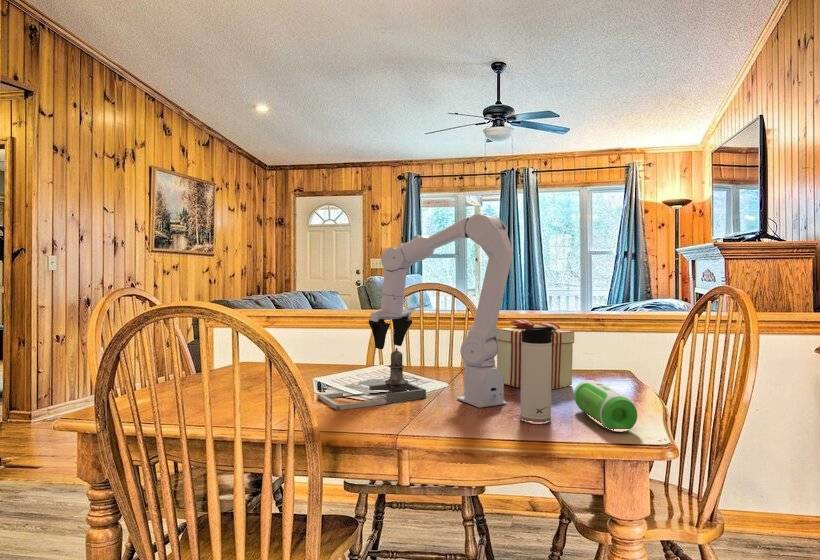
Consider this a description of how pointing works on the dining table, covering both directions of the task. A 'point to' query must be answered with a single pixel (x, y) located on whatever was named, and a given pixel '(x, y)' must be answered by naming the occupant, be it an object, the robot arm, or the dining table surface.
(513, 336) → the gift box
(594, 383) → the speaker
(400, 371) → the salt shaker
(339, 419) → the dining table surface
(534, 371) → the travel mug
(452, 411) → the dining table surface
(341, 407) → the gray square frame
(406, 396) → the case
